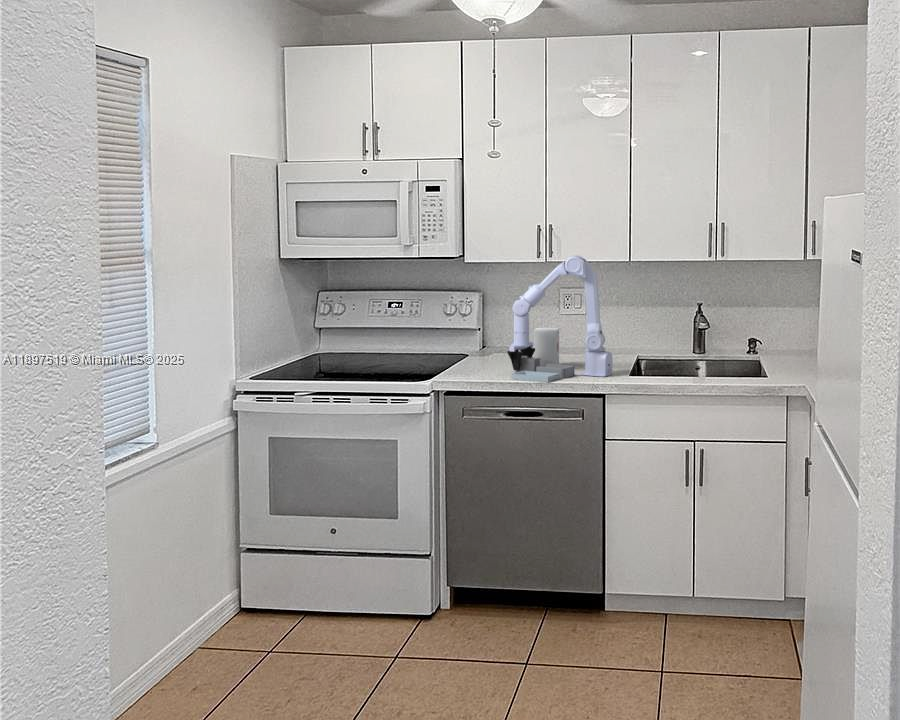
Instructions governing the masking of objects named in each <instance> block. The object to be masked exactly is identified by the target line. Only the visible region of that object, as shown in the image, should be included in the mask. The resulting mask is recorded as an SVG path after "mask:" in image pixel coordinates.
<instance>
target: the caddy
mask: <svg viewBox="0 0 900 720" xmlns="http://www.w3.org/2000/svg"><path fill="white" fill-rule="evenodd" d="M537 366H539V367H540V358H535V357H534V356H532V357H527V356H522V357H521V361H520V369H519V370H514V373H517V372H521V371H534V372H536V367H537Z"/></svg>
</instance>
